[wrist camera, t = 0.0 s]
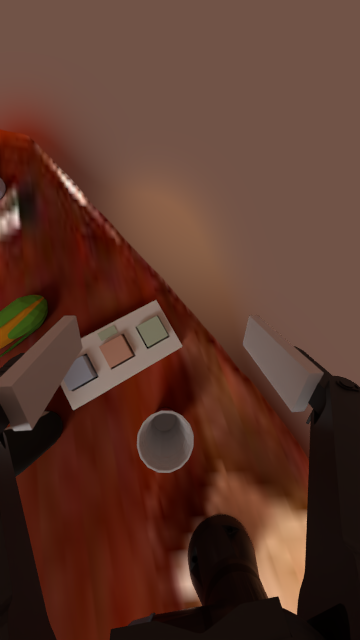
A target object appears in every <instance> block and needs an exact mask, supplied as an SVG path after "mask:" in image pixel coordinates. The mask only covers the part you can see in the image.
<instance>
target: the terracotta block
mask: <svg viewBox="0 0 360 640" xmlns="http://www.w3.org/2000/svg"><path fill="white" fill-rule="evenodd" d="M99 348H100V350H101V352H102V354H103V355H104V357H105V359H106V361H107V363H108V365H109V367H110V368H112V367H115V366H117V365H118V364H120V363H122V362H124V361H126V360H127V359H129V358H131V357H133V356H134V355H135V354H134V352H133V351H132V349H131V347H130V345H129V343H128V341H127V340H126V338H125V336H122V335H120V336H118V337H116V338H114V339H112V340H110V341H109V342H107V343H105V344H103V345H101V346H99Z"/></svg>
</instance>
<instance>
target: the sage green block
mask: <svg viewBox="0 0 360 640" xmlns="http://www.w3.org/2000/svg"><path fill="white" fill-rule="evenodd" d="M137 328H138V330H139V332H140V334H141V336H142V337H143V339H144V341H145V343H146V345H147V346H148V347H150V346H152V345H154V344H156V343H157V342H159V341H161V340H163V339H164V338H166V337H167V336H168V334H167V333H166V331H165V329H164V327H163V325H162V324H161V322H160V320H159V318H158V317H157V316H155V317H153V318H152V319H150V320H148V321H146V322H144V323H142V324H140V325H138V326H137Z"/></svg>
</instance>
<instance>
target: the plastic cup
mask: <svg viewBox="0 0 360 640" xmlns="http://www.w3.org/2000/svg"><path fill="white" fill-rule="evenodd" d="M193 438H194V435H193V432H192V430H191V427H190V424H189V423H188V422H187V421H186V419H185V418H184V417H183V416H182V415H180V414H178V413H176V412H174V411H173V410H172V409H170V408H161V409H158V410H157V411H156V412H155V413H154V414H152V415H150V416H149V417H148V418H147V419H146V420H145V421H144V422H143V424H142V426H141V428H140V430H139V432H138V438H137V448H138V452H139V455H140V458H141V459H142V461H143V462H144V463H145V464H146V466H147V467H148V468H150V469H152V470H154V471H156V472H162V473H170V472H172V471H175V470H177V469H179V468H181V467H182V466H183V465H184V464H185V463H186V461H187V460H188V459H189V457H190V455H191V452H192V450H193Z"/></svg>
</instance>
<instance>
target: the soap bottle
mask: <svg viewBox="0 0 360 640" xmlns="http://www.w3.org/2000/svg"><path fill="white" fill-rule="evenodd" d="M5 191H6V188H5V184H4V182H3V180H2V179H1V178H0V199H1V198H2V197H3V195H4V193H5Z"/></svg>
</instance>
